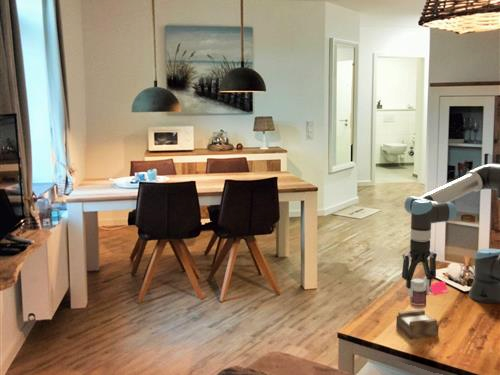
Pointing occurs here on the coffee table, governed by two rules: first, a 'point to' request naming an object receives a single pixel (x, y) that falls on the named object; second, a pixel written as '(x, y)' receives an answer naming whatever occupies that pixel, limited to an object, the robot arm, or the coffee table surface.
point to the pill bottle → (418, 294)
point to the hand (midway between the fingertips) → (418, 294)
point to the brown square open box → (417, 324)
